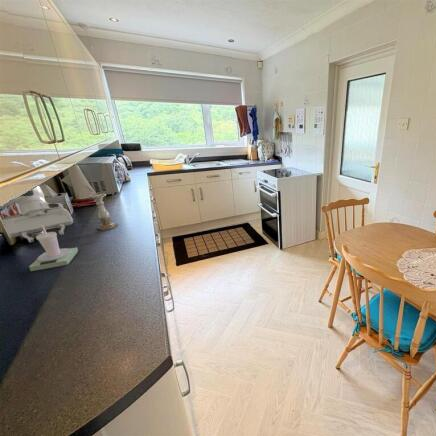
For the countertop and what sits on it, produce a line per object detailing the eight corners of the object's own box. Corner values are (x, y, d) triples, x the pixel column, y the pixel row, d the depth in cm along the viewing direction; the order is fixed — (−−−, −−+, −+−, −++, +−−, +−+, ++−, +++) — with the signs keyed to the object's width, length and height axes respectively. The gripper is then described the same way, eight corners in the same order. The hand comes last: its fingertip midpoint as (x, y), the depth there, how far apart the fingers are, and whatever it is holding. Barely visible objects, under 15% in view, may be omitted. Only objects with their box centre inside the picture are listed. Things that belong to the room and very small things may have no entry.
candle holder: (110, 223, 143) (100, 192, 136) (120, 225, 140) (110, 193, 133) (95, 229, 136) (83, 195, 128) (104, 231, 133) (93, 197, 125)
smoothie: (64, 249, 108) (53, 221, 102) (63, 254, 103) (51, 226, 98) (45, 253, 104) (32, 225, 99) (43, 259, 99) (30, 230, 94)
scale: (30, 271, 96) (27, 265, 95) (45, 256, 107) (43, 251, 106) (67, 264, 101) (65, 259, 100) (78, 251, 112) (76, 245, 111)
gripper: (-3, 214, 93) (8, 243, 90) (65, 202, 107) (76, 227, 105) (2, 221, 97) (13, 249, 95) (67, 209, 112) (78, 233, 109)
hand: (47, 237), depth 100 cm, fingers open, 8 cm apart
